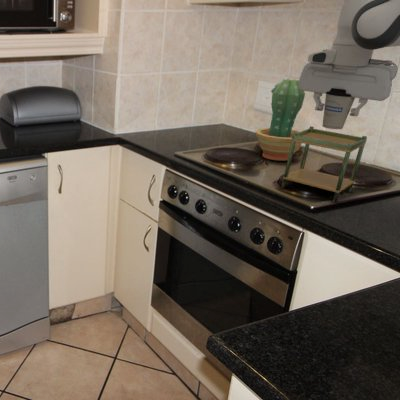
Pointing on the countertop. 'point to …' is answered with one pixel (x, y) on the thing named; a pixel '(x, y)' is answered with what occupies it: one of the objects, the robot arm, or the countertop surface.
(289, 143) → the potted cactus
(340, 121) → the coffee cup
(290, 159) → the shelf rack
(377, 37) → the robot arm
